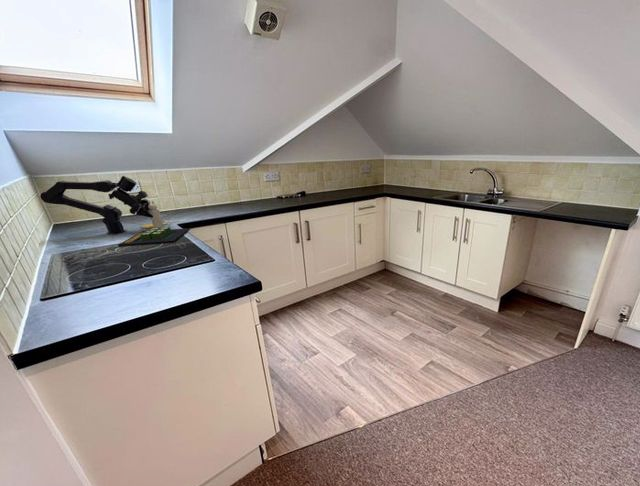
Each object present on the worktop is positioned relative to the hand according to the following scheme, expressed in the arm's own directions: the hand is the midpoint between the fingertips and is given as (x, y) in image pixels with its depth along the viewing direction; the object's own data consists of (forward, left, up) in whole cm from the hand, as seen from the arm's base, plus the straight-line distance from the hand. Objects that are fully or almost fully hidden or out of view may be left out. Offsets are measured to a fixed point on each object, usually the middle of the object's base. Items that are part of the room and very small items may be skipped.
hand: (154, 215), depth 175 cm
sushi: (-15, -17, -8) cm, 24 cm away
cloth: (+5, +9, -8) cm, 13 cm away
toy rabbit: (0, 0, -8) cm, 8 cm away
